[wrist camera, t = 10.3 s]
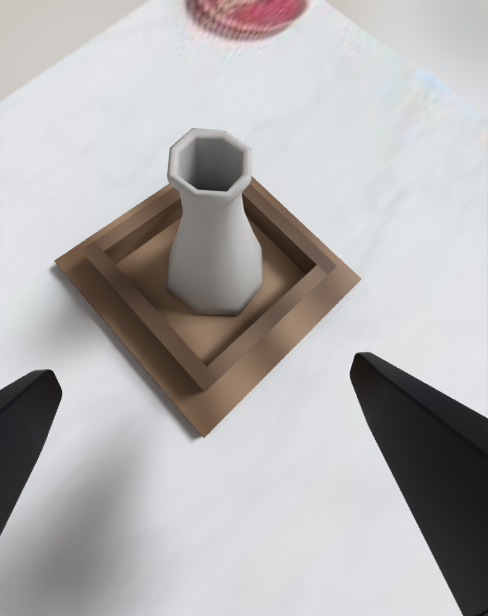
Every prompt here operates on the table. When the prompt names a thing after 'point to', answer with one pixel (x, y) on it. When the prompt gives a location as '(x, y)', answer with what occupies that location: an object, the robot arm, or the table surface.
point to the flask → (213, 225)
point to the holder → (202, 327)
